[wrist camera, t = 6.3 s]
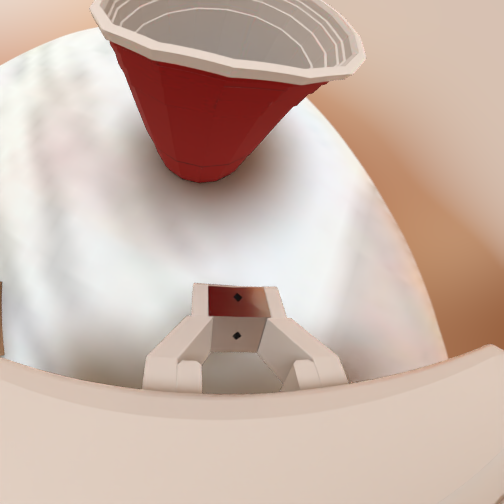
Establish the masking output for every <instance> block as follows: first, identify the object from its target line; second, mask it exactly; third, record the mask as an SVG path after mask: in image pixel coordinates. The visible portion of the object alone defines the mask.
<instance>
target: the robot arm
mask: <svg viewBox="0 0 504 504" xmlns="http://www.w3.org/2000/svg"><path fill="white" fill-rule="evenodd" d="M210 352H252V353H257V354H258V355H259V356H260V358H261V359H262V360H263V361H264V362H265V364H266V365H267V366H268V367H269V368H270V369H271V371H272V372H273V373H274V374H275V375H276V376H277V377H278V379H279V380H280V381H281V382H282V383H283V386H282V388H281V390H280V392H274V393H256V394H202V369H201V366H202V365H203V363H204V362H205V360H206V359H207V357H208V356H209V354H210ZM0 504H504V350H502V349H500V348H498V347H497V346H495V345H492V344H488V345H485V346H483V347H481V348H478V349H476V350H473V351H470V352H468V353H465V354H462V355H459V356H456V357H454V358H451V359H448V360H445V361H441V362H438V363H435V364H432V365H428V366H425V367H422V368H418V369H414V370H411V371H407V372H403V373H399V374H395V375H390V376H386V377H381V378H377V379H372V380H367V381H362V382H356V383H350V384H349V382H348V379H347V377H346V374H345V372H344V369H343V367H342V364H341V362H340V359H339V357H338V355H336V354H335V353H334V352H332V351H331V350H330V349H329V348H327V347H326V346H325V345H324V344H322V343H321V342H320V341H319V340H317V339H316V338H315V337H314V336H312V335H311V334H310V333H309V332H308V331H306V330H305V329H304V328H303V327H301V326H300V325H299V324H298V323H296V322H295V321H294V320H293V319H292V318H287V316H286V313H285V310H284V307H283V303H282V300H281V297H280V294H279V291H278V288H277V287H252V286H232V285H218V284H202V283H194V284H193V293H192V312H191V316H189V315H187V316H186V317H185V318H184V319H183V320H182V321H181V322H180V323H179V324H178V325H177V326H176V327H175V328H174V329H173V330H172V331H171V332H170V333H169V334H168V335H167V336H166V337H165V338H164V339H163V340H162V341H161V342H160V343H159V344H158V345H157V346H156V347H155V348H154V349H153V350H152V351H151V352H150V353H149V354H148V355H147V356H146V362H145V369H144V377H143V384H142V389H134V388H126V387H119V386H113V385H106V384H101V383H95V382H90V381H85V380H80V379H75V378H71V377H66V376H62V375H58V374H54V373H50V372H46V371H43V370H39V369H36V368H32V367H29V366H26V365H23V364H20V363H17V362H14V361H11V360H8V359H5V358H2V357H0Z"/></svg>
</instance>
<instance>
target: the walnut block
mask: <svg viewBox="0 0 504 504" xmlns="http://www.w3.org/2000/svg"><path fill="white" fill-rule="evenodd" d="M2 355H4V346H3V333H2V282H0V356H2Z"/></svg>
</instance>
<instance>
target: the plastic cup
mask: <svg viewBox="0 0 504 504" xmlns="http://www.w3.org/2000/svg"><path fill="white" fill-rule="evenodd" d="M89 9H90V11H91V14H92V16H93V18H94V20H95V21H96V23H97V25H98V27H99V29H100V30H101V32H102V34H103V35H104V37H105V39H106V40H109V41H110V45H111V47H112V48H113V50H114V52H115V54H116V57H117V61H118V64H119V65H120V67H121V69H122V70H123V72H124V74H125V77H126V79H127V82H128V85H129V87H130V90H131V92H132V95H133V97H134V100H135V102H136V105H137V107H138V110H139V112H140V115H141V117H142V120H143V122H144V125H145V127H146V130H147V132H148V134H149V135H150V137H151V139H152V140H153V142H154V144H155V146H156V149H157V151H158V153H159V155H160V157H161V158H162V160H163V162H164V163H165V165H166V167H167V168H169V170H170V171H172V172H173V173H175V174H176V175H178V176H179V177H180V178H182V179H185V180H189V181H193V182H197V183H202V182H212V181H217V180H219V179H221V178H223V177H225V176H227V175H229V174H231V173H232V172H234V171H235V170H236V169H237V168H238V166H239V165H240V164H241V163H242V162H243V161H244V160H245V158H246V157H247V156H248V155H250V154H251V152H252V151H253V150H254V149H255V148H256V147H257V146H258V144H259V143H260V142H261V141H262V140H263V139H264V138H265V137H266V136H267V134H268V133H269V132H270V131H271V130H272V129H273V128H274V127H275V126H276V125H277V123H278V122H279V121H280V120H281V119H282V118H283V117H284V116H285V115H286V114H287V113H288V112H289V111H290V109H291V108H292V107H293V106H297V105H298V104H299V103H300V102H301V101H302V100H303V99H304V98H305V97H306V96H307V95H308V94H312V93H314V91H316V90H317V89H318V88H319V87H320V86H321V85H325V84H327V83H328V82H329V81H334V80H343V79H345V78H347V77H349V76H351V75H352V74H354V72H355V71H356V70H357V69H358V68H359V67H360V65H361V64H362V63H363V62H364V61H365V60H366V54H365V51H364V47H363V43H362V40H361V37H360V36H359V34H358V33H357V32H356V31H355V30H354V28H353V27H352V26H351V25H350V24H349V23H348V21H347V20H346V19H345V18H344V17H343V16H342V15H341V14H340V13H339V12H338V11H336V10H335V9H333V8H332V7H331V6H329V5H328V4H327V3H325V2H324V1H323V0H94V1H93V3H92V5H91V6H90V8H89Z"/></svg>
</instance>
